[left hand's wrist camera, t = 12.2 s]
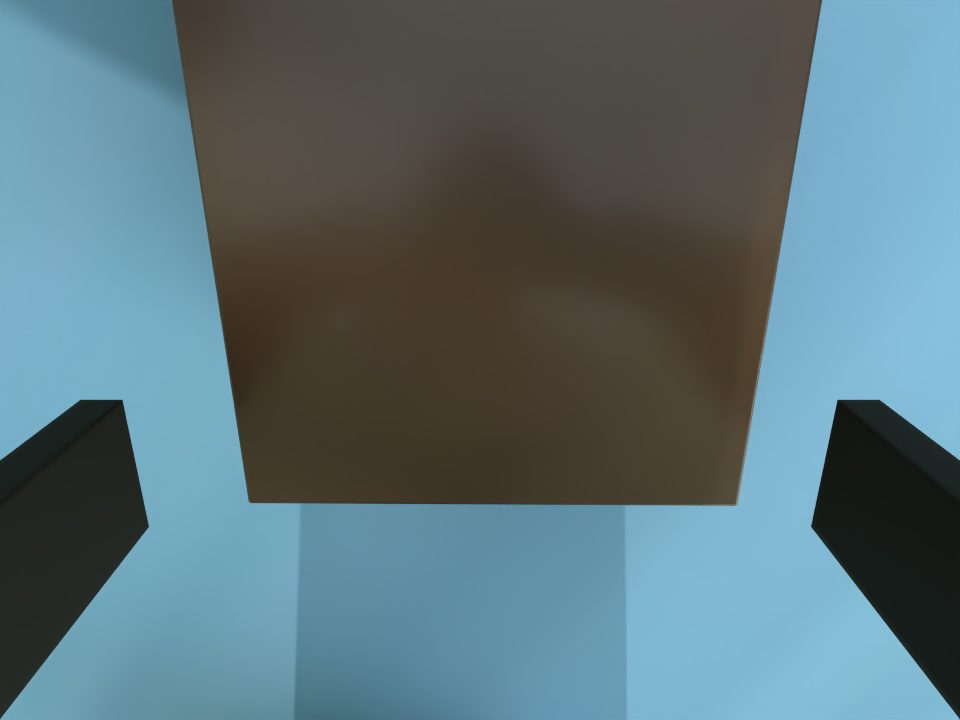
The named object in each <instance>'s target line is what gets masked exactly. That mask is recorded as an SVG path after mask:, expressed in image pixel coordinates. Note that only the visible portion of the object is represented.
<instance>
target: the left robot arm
mask: <svg viewBox="0 0 960 720" xmlns="http://www.w3.org/2000/svg"><path fill="white" fill-rule="evenodd" d="M148 527H149V525H148V520H147V515H146V511H145V506H144V501H143V496H142V492H141V487H140V482H139V477H138V472H137V468H136V463H135V458H134V453H133V449H132V444H131V439H130V434H129V429H128V425H127V420H126V415H125V410H124V406H123V401H122V400H80V401H79V402H77V403H76V404H75V405H73V406H72V407H71V408H69V409H68V410H67V411H65V412H64V413H63V414H61V415H60V416H59V417H57V418H56V419H55V420H53V421H52V422H51V423H49V424H48V425H47V426H45V427H44V428H43V429H41V430H40V431H39V432H37V433H36V434H35V435H33V436H32V437H31V438H29V439H28V440H27V441H25V442H24V443H23V444H22V445H20V446H19V447H18V448H16V449H15V450H14V451H12V452H11V453H10V454H8V455H7V456H6V457H4V458H3V459H2V460H0V719H1V717H2V716H3V715H4V713H5V712H6V711H7V709H8V708H9V707H10V706H11V704H12V703H13V702H14V700H15V699H16V698H17V697H18V695H19V694H20V693H21V691H22V690H23V689H24V688H25V686H26V685H27V684H28V682H29V681H30V680H31V678H32V677H33V676H34V675H35V673H36V672H37V671H38V669H39V668H40V667H41V666H42V664H43V663H44V662H45V660H46V659H47V658H48V656H49V655H50V654H51V653H52V651H53V650H54V649H55V647H56V646H57V645H58V644H59V642H60V641H61V640H62V638H63V637H64V636H65V635H66V633H67V632H68V631H69V629H70V628H71V627H72V625H73V624H74V623H75V622H76V620H77V619H78V618H79V616H80V615H81V614H82V613H83V611H84V610H85V609H86V607H87V606H88V605H89V603H90V602H91V601H92V600H93V598H94V597H95V596H96V594H97V593H98V592H99V591H100V589H101V588H102V587H103V585H104V584H105V583H106V581H107V580H108V579H109V578H110V576H111V575H112V574H113V572H114V571H115V570H116V569H117V567H118V566H119V565H120V563H121V562H122V561H123V560H124V558H125V557H126V556H127V554H128V553H129V552H130V550H131V549H132V548H133V547H134V545H135V544H136V543H137V541H138V540H139V539H140V538H141V536H142V535H143V534H144V532H145V531H146V530H147V528H148ZM811 527H812V528H813V530H814V531H815V532H816V534H817V535H818V536H819V538H820V539H821V540H822V541H823V543H824V544H825V545H826V547H827V548H828V549H829V550H830V552H831V553H832V554H833V556H834V557H835V558H836V560H837V561H838V562H839V563H840V565H841V566H842V567H843V569H844V570H845V571H846V572H847V574H848V575H849V576H850V578H851V579H852V580H853V581H854V583H855V584H856V585H857V587H858V588H859V589H860V591H861V592H862V593H863V594H864V596H865V597H866V598H867V600H868V601H869V602H870V603H871V605H872V606H873V607H874V609H875V610H876V611H877V613H878V614H879V615H880V616H881V618H882V619H883V620H884V622H885V623H886V624H887V625H888V627H889V628H890V629H891V631H892V632H893V633H894V635H895V636H896V637H897V638H898V640H899V641H900V642H901V644H902V645H903V646H904V647H905V649H906V650H907V651H908V653H909V654H910V655H911V656H912V658H913V659H914V660H915V662H916V663H917V664H918V666H919V667H920V668H921V669H922V671H923V672H924V673H925V675H926V676H927V677H928V678H929V680H930V681H931V682H932V684H933V685H934V686H935V688H936V689H937V690H938V691H939V693H940V694H941V695H942V697H943V698H944V699H945V700H946V702H947V703H948V704H949V706H950V707H951V708H952V709H953V711H954V712H955V713H956V715H957V716H958V717H959V719H960V460H958V459H957V458H956V457H954V456H953V455H952V454H950V453H949V452H948V451H946V450H945V449H944V448H942V447H941V446H940V445H938V444H937V443H936V442H935V441H933V440H932V439H931V438H929V437H928V436H927V435H925V434H924V433H923V432H921V431H920V430H919V429H917V428H916V427H915V426H913V425H912V424H911V423H909V422H908V421H907V420H905V419H904V418H903V417H901V416H900V415H899V414H897V413H896V412H895V411H893V410H892V409H891V408H889V407H888V406H887V405H885V404H884V403H883V402H881V401H880V400H838V401H837V406H836V410H835V415H834V420H833V425H832V429H831V434H830V439H829V444H828V449H827V453H826V458H825V463H824V468H823V472H822V477H821V482H820V487H819V492H818V496H817V501H816V506H815V511H814V515H813V520H812V525H811Z"/></svg>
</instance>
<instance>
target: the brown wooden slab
mask: <svg viewBox="0 0 960 720" xmlns="http://www.w3.org/2000/svg"><path fill="white" fill-rule="evenodd" d="M172 3H173V10H174V16H175V23H176V29H177V36H178V42H179V49H180V55H181V62H182V68H183V75H184V81H185V88H186V94H187V101H188V107H189V114H190V121H191V127H192V134H193V140H194V147H195V153H196V160H197V166H198V173H199V179H200V186H201V192H202V199H203V205H204V212H205V218H206V225H207V231H208V238H209V245H210V251H211V258H212V264H213V271H214V277H215V284H216V290H217V297H218V303H219V310H220V316H221V323H222V329H223V336H224V342H225V349H226V356H227V362H228V369H229V375H230V382H231V388H232V395H233V401H234V408H235V414H236V421H237V427H238V434H239V440H240V447H241V453H242V460H243V466H244V473H245V480H246V486H247V493H248V499H249V502H250V503H354V504H541V505H728V506H735V505H737V503H738V497H739V491H740V485H741V479H742V473H743V467H744V461H745V455H746V449H747V443H748V437H749V431H750V425H751V419H752V413H753V408H754V402H755V396H756V390H757V384H758V378H759V372H760V366H761V360H762V354H763V348H764V342H765V336H766V330H767V324H768V318H769V312H770V307H771V301H772V295H773V289H774V283H775V277H776V271H777V265H778V259H779V253H780V247H781V241H782V235H783V229H784V223H785V217H786V211H787V206H788V200H789V194H790V188H791V182H792V176H793V170H794V164H795V158H796V152H797V146H798V140H799V134H800V128H801V122H802V116H803V110H804V105H805V99H806V93H807V87H808V81H809V75H810V69H811V63H812V57H813V51H814V45H815V39H816V33H817V27H818V21H819V15H820V9H821V4H822V0H172Z"/></svg>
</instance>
